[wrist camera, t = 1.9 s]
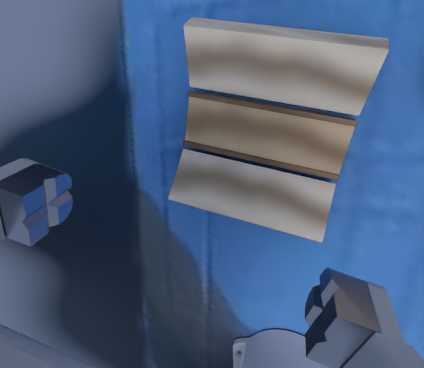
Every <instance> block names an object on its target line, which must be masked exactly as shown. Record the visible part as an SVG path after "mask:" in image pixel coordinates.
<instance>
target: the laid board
mask: <svg viewBox="0 0 424 368" xmlns="http://www.w3.org/2000/svg"><path fill="white" fill-rule="evenodd" d="M188 96H189V104H188V114H187V123H186V132H185V140H184V141H183V145H184V146H188V147H193V148H197V149H201V150H206V151H210V152H215V153H219V154H223V155H228V156H232V157H237V158H241V159H245V160H250V161H254V162H258V163H263V164H267V165H272V166H276V167H280V168H285V169H289V170H294V171H298V172H302V173H307V174H311V175H316V176H320V177H324V178H329V179H333V180H337V181H338V178H339V173H340V170H341V167H342V164H343V161H344V158H345V155H346V152H347V149H348V146H349V143H350V140H351V137H352V134H353V131H354V128H355V127H356V125H357V122H358V121H357V120H355V119H354V118H349V117H343V116H338V115H332V114H326V113H321V112H315V111H309V110H304V109H298V108H292V107H286V106H281V105H275V104H269V103H264V102H258V101H252V100H246V99H241V98H235V97H229V96H224V95H218V94H212V93H206V92H201V91H188Z"/></svg>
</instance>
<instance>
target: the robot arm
mask: <svg viewBox="0 0 424 368" xmlns="http://www.w3.org/2000/svg"><path fill="white" fill-rule="evenodd" d="M71 186H72V184H71V177H70V176H69V175H68V174H66V173H63V172H60V171H58V170H55V169H53V168H50V167H48V166H45V165H43V164H39V163H37V162H34V161H32V160H29V159H19V160H16V161H14V162H12V163H10V164H7V165H5V166H3V167H0V240H3V239H5V237H6V238H9V239H12V240H15V241H17V242H20V243H23V244H25V245H28V246H32V245H33V244H35V243H36V242H37V241H38V240H39V239H41V238H42V237H43V236H45V235H46V234H47V233H48V231H49V227H50V226H54V225H58V224H60V223H61V222H62V221H63V220H65V219H66V217H67V216H68V214H69V213H70V211H71V208H72V196H71V195H70V193H69V192H68V190H69V188H70V187H71ZM305 320H306V322H307V323H308V325H309V327H310V328H309V329H308V330H307V332H306V333H305V337H304V336H302V335H299V334H297V333H294V332H290V331H286V330H266V331H262V332H259V333H257V334H255V335H253V336H251V337H249V338H238V339H235V340H234V342H233V368H424V359H423V358H422V357H421V356H420V355H419V354H418V353H417V351H416V350H415V349H414V348H413V347H412V346H411V345H408V344H406V343H405V341H404V339H403V336H402V333H401V330H400V327H399V324H398V321H397V319H396V316H395V313H394V310H393V307H392V304H391V301H390V299H389V296H388V293H387V290H386V289H385V288H384V287H383V286H380V285H377V284H374V283H371V282H368V281H365V280H361V279H358V278H355V277H352V276H349V275H346V274H344V273H341V272H338V271H335V270H332V269H329V268H326V269H325V270H324V271H323V272H322V274H321V275H320V285H317V286H314V287H313V288H312V290H311V292H310V293H309V295H308V299H307V302H306V307H305ZM0 368H97V367H95V366H93V365H90V364H88V363H86V362H84V361H82V360H80V359H77V358H75V357H73V356H71V355H68V354H66V353H64V352H62V351H59V350H57V349H55V348H53V347H51V346H48V345H46V344H44V343H41V342H39V341H37V340H35V339H33V338H30V337H28V336H26V335H24V334H22V333H19V332H17V331H14V330H12V329H10V328H8V327H6V326H4V325H1V324H0Z"/></svg>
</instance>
